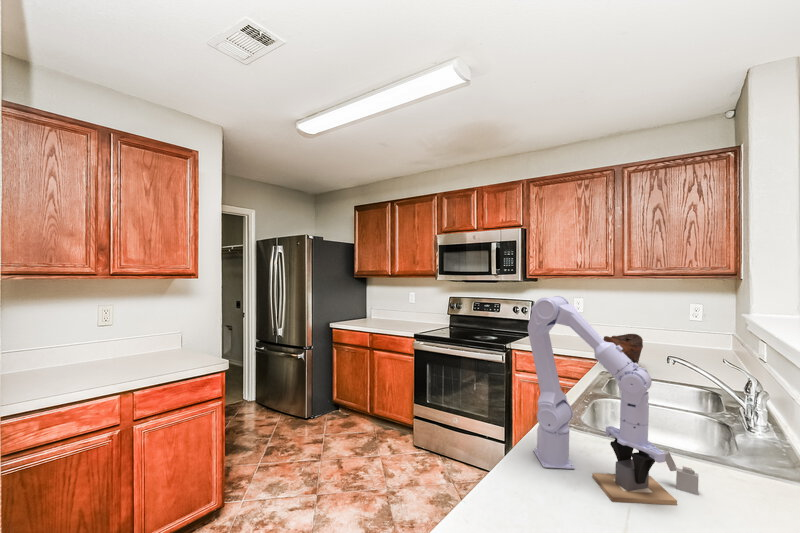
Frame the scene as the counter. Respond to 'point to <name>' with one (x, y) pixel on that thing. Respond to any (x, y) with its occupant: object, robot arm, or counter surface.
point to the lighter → (683, 476)
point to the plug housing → (628, 476)
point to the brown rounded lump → (628, 345)
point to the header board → (634, 491)
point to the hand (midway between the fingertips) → (632, 477)
